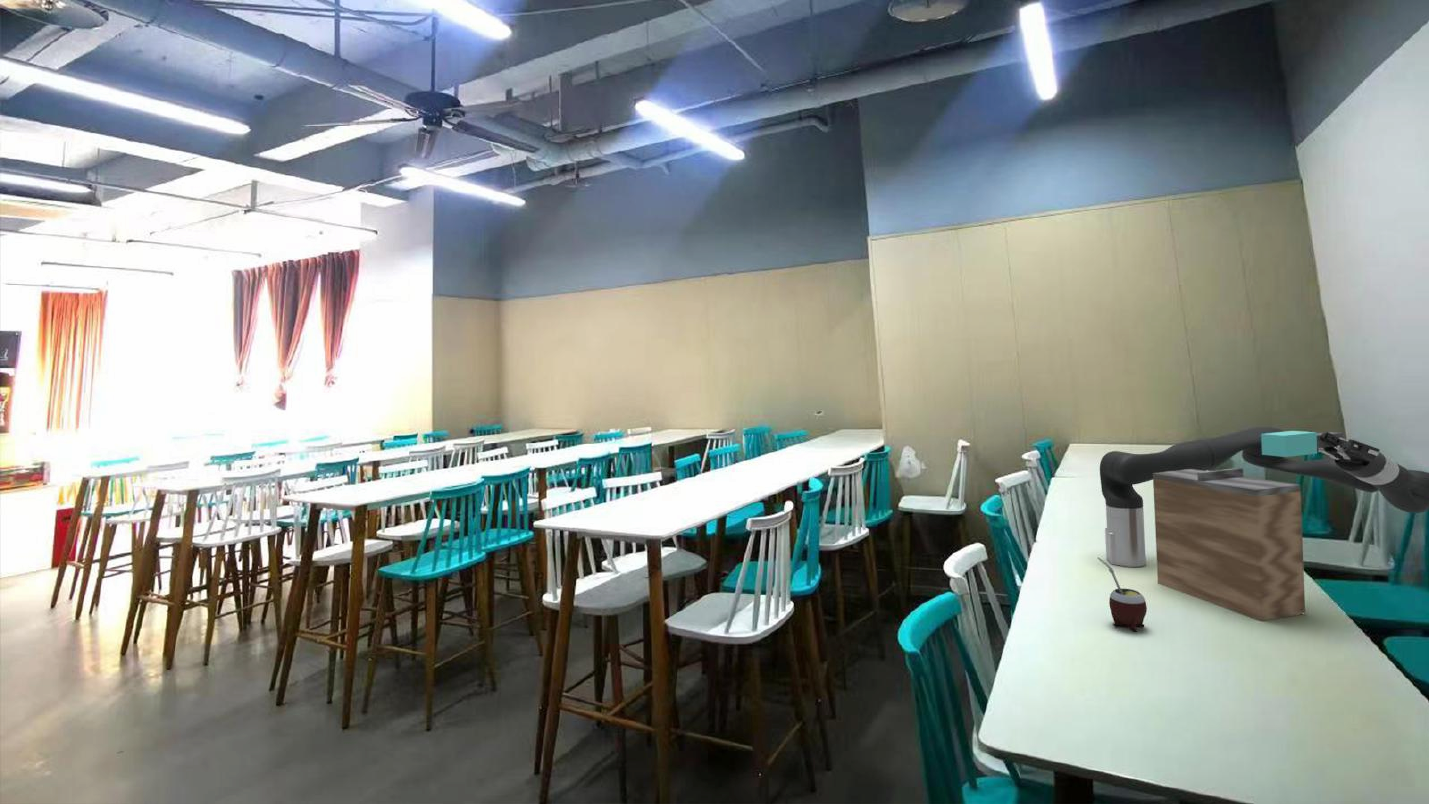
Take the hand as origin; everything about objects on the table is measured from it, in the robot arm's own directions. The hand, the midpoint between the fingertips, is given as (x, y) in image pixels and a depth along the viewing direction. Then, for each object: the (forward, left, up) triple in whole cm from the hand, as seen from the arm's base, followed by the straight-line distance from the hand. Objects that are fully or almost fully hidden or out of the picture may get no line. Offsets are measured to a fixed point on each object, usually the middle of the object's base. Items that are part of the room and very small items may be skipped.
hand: (1314, 434), depth 141 cm
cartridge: (-3, -1, -4) cm, 5 cm away
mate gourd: (-46, -26, -40) cm, 66 cm away
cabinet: (-20, -3, -40) cm, 45 cm away
